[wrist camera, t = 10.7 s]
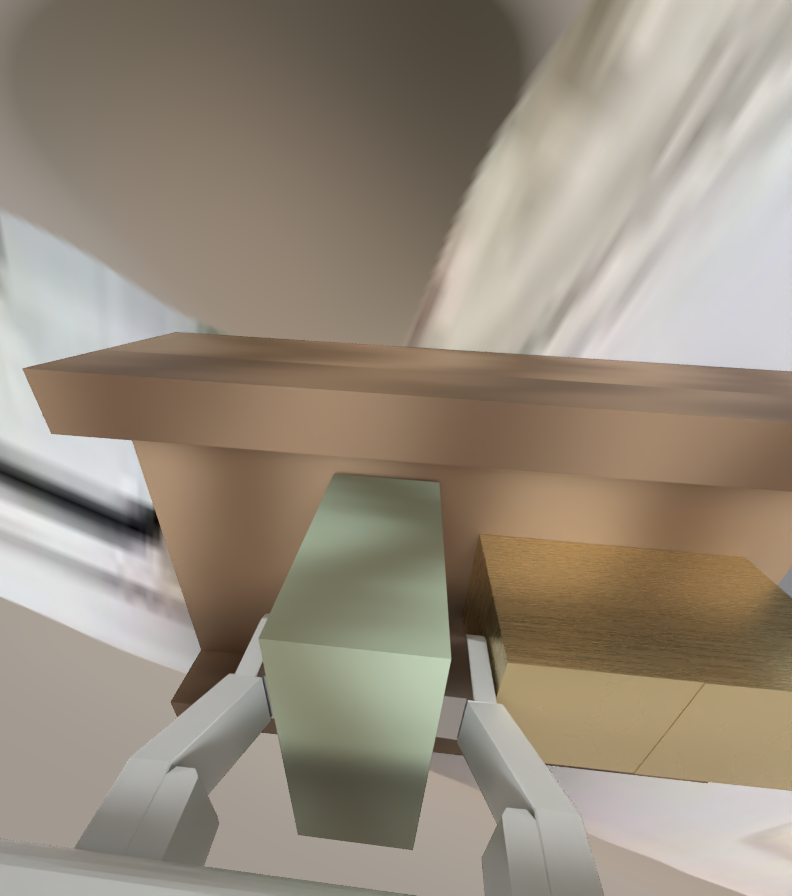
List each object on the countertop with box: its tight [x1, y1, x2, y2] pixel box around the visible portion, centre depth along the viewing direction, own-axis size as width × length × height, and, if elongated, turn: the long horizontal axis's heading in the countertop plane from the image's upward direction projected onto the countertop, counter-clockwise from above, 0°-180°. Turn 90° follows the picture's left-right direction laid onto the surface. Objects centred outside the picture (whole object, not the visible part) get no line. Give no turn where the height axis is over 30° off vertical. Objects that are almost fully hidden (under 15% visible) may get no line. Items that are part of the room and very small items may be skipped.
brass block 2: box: [611, 546, 792, 791], centre depth 10 cm, size 4×4×4 cm
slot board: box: [22, 332, 792, 783], centre depth 12 cm, size 20×14×5 cm
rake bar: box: [258, 474, 451, 850], centre depth 9 cm, size 3×8×5 cm, turn 177°
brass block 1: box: [462, 534, 705, 773], centre depth 10 cm, size 4×4×4 cm
